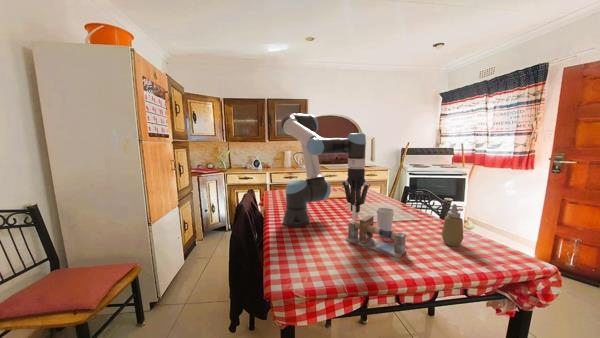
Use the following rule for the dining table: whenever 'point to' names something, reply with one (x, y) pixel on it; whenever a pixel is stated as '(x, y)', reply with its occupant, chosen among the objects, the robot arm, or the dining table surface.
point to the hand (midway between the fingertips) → (355, 218)
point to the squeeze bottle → (453, 228)
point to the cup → (385, 218)
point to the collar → (363, 234)
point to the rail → (387, 248)
